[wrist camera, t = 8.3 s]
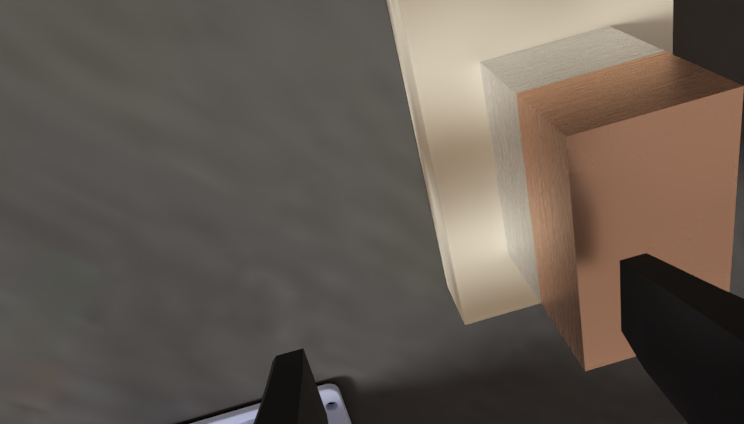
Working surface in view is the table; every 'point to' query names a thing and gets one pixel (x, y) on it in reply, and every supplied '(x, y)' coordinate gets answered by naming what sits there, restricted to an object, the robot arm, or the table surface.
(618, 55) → the block
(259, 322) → the table surface
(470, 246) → the stand
